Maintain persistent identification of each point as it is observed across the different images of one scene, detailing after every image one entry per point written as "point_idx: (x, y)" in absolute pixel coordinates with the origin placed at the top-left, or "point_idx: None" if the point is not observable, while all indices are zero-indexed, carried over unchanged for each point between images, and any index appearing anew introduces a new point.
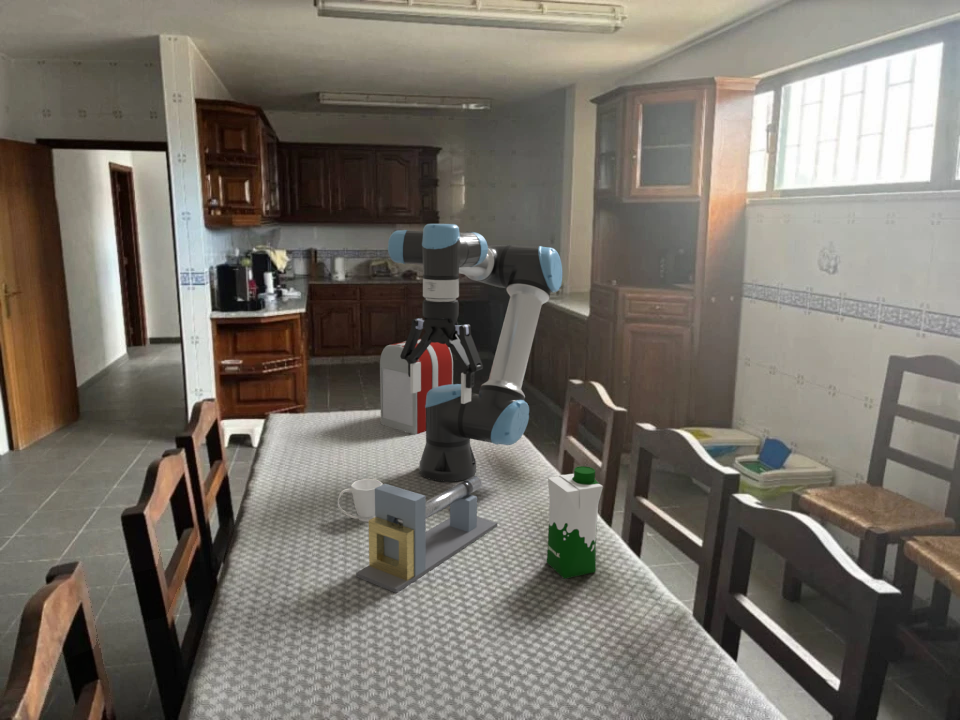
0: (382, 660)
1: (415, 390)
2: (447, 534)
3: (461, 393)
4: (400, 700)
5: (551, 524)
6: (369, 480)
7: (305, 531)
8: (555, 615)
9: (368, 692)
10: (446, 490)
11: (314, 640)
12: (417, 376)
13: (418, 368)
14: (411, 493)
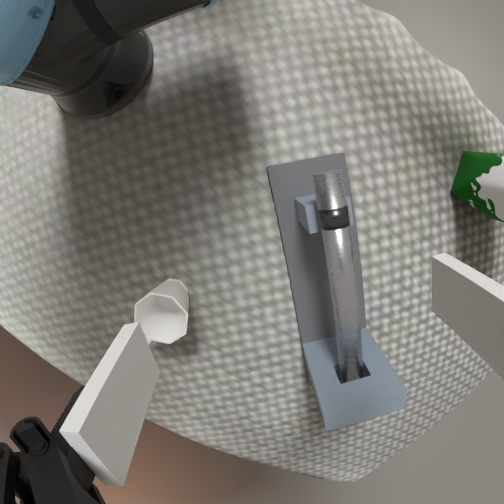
0: (415, 408)
1: (151, 364)
2: (318, 244)
3: (457, 331)
4: (444, 410)
5: (501, 219)
6: (141, 301)
7: (164, 370)
8: (493, 270)
9: (425, 422)
10: (339, 273)
11: (359, 434)
12: (125, 397)
13: (105, 424)
14: (385, 402)
